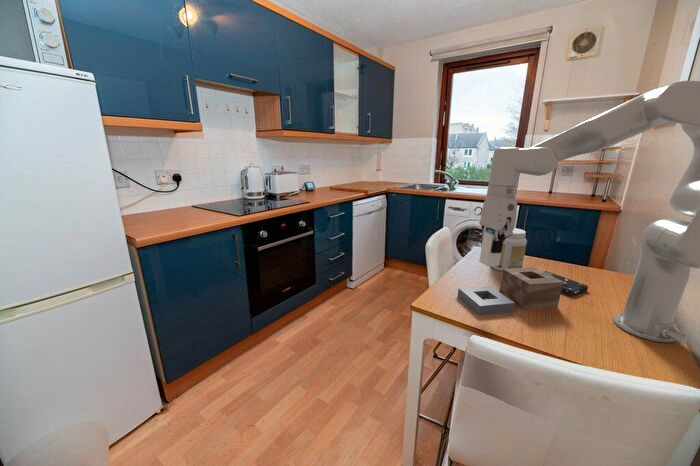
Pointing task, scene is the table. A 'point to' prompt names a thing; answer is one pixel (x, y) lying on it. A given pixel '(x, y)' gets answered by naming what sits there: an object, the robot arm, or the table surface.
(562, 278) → the disk drive
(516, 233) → the supplement tub
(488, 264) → the plug peg
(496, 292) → the lower socket plate
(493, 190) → the robot arm
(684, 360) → the table surface
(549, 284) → the upper socket tower
